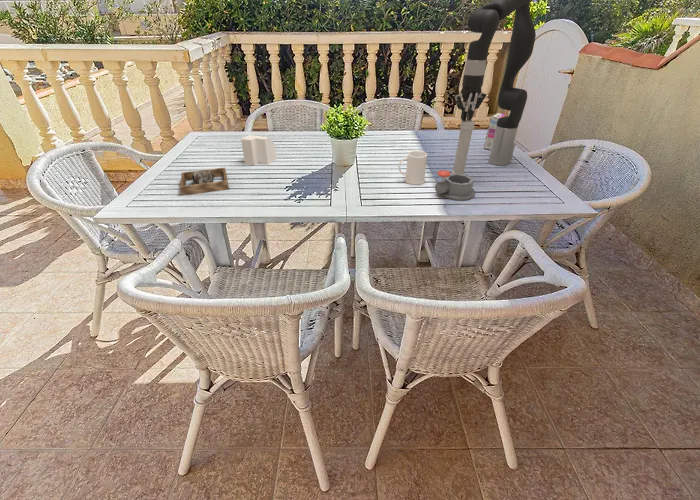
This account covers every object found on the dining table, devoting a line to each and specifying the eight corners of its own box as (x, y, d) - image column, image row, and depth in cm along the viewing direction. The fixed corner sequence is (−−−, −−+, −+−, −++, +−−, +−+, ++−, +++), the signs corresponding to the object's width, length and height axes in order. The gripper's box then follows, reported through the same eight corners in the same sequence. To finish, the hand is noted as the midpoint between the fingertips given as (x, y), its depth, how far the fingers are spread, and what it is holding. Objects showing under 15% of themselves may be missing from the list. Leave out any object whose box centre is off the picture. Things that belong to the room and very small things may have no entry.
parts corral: (226, 174, 165) (225, 167, 163) (229, 189, 152) (227, 181, 150) (183, 180, 160) (181, 172, 158) (182, 195, 147) (180, 187, 145)
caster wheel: (205, 183, 163) (221, 184, 159) (184, 188, 154) (201, 189, 149) (202, 168, 161) (219, 168, 156) (180, 171, 151) (198, 172, 147)
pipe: (464, 181, 159) (478, 108, 142) (449, 179, 160) (462, 107, 143) (463, 176, 163) (477, 105, 146) (448, 174, 164) (461, 104, 147)
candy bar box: (492, 150, 191) (500, 118, 182) (483, 149, 193) (490, 116, 184) (499, 145, 199) (506, 113, 189) (490, 143, 201) (497, 112, 192)
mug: (398, 185, 156) (400, 157, 149) (396, 177, 163) (398, 150, 156) (426, 185, 156) (429, 157, 149) (423, 177, 163) (426, 150, 156)
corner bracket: (245, 163, 176) (240, 138, 169) (258, 156, 185) (255, 132, 178) (264, 167, 173) (260, 141, 166) (276, 159, 181) (274, 134, 175)
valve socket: (461, 183, 156) (465, 161, 151) (481, 197, 145) (487, 174, 140) (426, 189, 152) (429, 167, 146) (444, 204, 141) (448, 180, 135)
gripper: (483, 70, 143) (475, 116, 152) (452, 72, 139) (446, 119, 149) (496, 73, 137) (486, 121, 146) (464, 75, 133) (456, 124, 143)
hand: (466, 120), depth 147 cm, fingers closed on pipe, 2 cm apart
